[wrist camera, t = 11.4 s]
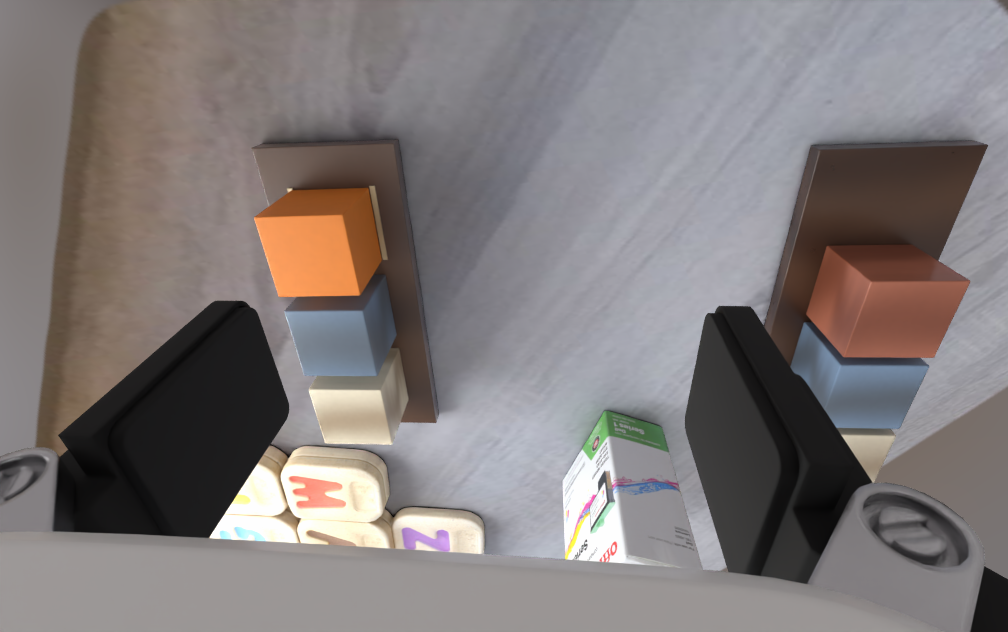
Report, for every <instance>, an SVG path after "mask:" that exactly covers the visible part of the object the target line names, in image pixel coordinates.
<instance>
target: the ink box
mask: <svg viewBox="0 0 1008 632" xmlns="http://www.w3.org/2000/svg"><path fill="white" fill-rule="evenodd" d="M563 506H564V535H565V559H568V560H583V561H599V562H614V563H626V564H639V565H651V566H664V567H676V568H688V569H701V570H703V568H702V565H701V561H700V558H699V554H698V551H697V547H696V544H695V541H694V537H693V534H692V530H691V527H690V523H689V520H688V516H687V513H686V509H685V506H684V502H683V499H682V495H681V492H680V489H679V485H678V481H677V478H676V474H675V471H674V467H673V464H672V460H671V457H670V454H669V450H668V447H667V443H666V439H665V435H664V432H663V429H662V428H661V427H660V426H657V425H654V424H651V423H647V422H644V421H641V420H637V419H634V418H631V417H628V416H624V415H621V414H617V413H613V412H610V411H604V412H603V414H602V416H601V418H600V419H599V421H598V423H597V425H596V426H595V428H594V430H593V431H592V433H591V435H590V436H589V438H588V440H587V441H586V443H585V445H584V446H583V448H582V450H581V451H580V453H579V455H578V456H577V458H576V460H575V461H574V463H573V465H572V466H571V468H570V470H569V471H568V473H567V475H566V476H565V478H564V480H563Z"/></svg>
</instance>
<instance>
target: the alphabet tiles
mask: <svg viewBox="0 0 1008 632" xmlns="http://www.w3.org/2000/svg"><path fill="white" fill-rule="evenodd" d="M389 495H390V488H389V481H388V473H387V466H386V465H385V463H384V462H383V460H382V459H381V458H379V457H378V456H377V455H375V454H373V453H371V452H368V451H364V450H357V449H343V448H330V447H314V446H303V447H300V448H298V449H296V450H294V451H293V452H292V454H291V456H290V457H289V458H288V457H287V456H286V455H285V454H284V453H283V452H282V451H280V450H279V449H277V448H275V447H273V446H270V445H269V447H268V449H267V450H266V452H265V453H264V455H263V456H262V458H261V459H260V461H259V462H258V464H257V465H256V467H255V468H254V470H253V472H252V473H251V475H250V476H249V478H248V479H247V481H246V482H245V484H244V485H243V487H242V488H241V490H240V492H239V493H238V495H237V496H236V498H235V499H234V501H233V502H232V504H231V505H230V507H229V508H228V510H227V511H226V513H225V515H224V516H223V518H222V519H221V521H220V522H219V524H218V525H217V527H216V528H215V530H214V531H213V533H212V534H211V536H210V538H216V539H234V540H253V541H272V542H290V543H307V544H324V545H342V546H359V547H376V548H393V549H409V550H426V551H443V552H459V553H475V554H484V547H485V529H484V523H483V521H482V520H481V518H480V517H478V516H477V515H475V514H473V513H471V512H468V511H463V510H452V509H434V508H419V507H409V508H404V509H402V510H400V511H399V512H398V513H397V514H396V515H395V517H392V515H391V514H390V513H389V512H388V511H387V510H386V509H384V508H385V505H386V503H387V500H388V498H389Z"/></svg>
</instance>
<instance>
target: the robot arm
mask: <svg viewBox="0 0 1008 632" xmlns="http://www.w3.org/2000/svg"><path fill="white" fill-rule="evenodd" d="M288 414H289V403H288V400H287V397H286V394H285V391H284V388H283V385H282V382H281V379H280V377H279V374H278V371H277V368H276V365H275V362H274V359H273V356H272V353H271V351H270V348H269V345H268V342H267V339H266V336H265V333H264V330H263V328H262V325H261V322H260V319H259V316H258V314H257V312H256V310H255V309H253V308H250V306H249V305H248V304H247V303H246V302H244V301H214V302H213V303H211V304H210V305H209V306H208V307H206V308H205V309H204V310H203V311H202V312H201V313H199V314H198V315H197V316H196V317H195V318H194V319H192V320H191V321H190V322H189V323H188V324H187V325H185V326H184V327H183V328H182V329H181V330H180V331H179V332H177V333H176V334H175V335H174V336H173V337H172V338H170V339H169V340H168V341H167V342H166V343H165V344H163V345H162V346H161V347H160V348H159V349H158V350H156V351H155V352H154V353H153V354H152V355H151V356H150V357H148V358H147V359H146V360H145V361H144V362H143V363H141V364H140V365H139V366H138V367H137V368H136V369H134V370H133V371H132V372H131V373H130V374H129V375H128V376H126V377H125V378H124V379H123V380H122V381H121V382H119V383H118V384H117V385H116V386H115V387H114V388H112V389H111V390H110V391H109V392H108V393H107V394H105V395H104V396H103V397H102V398H101V399H100V400H99V401H97V402H96V403H95V404H94V405H93V406H92V407H90V408H89V409H88V410H87V411H86V412H85V413H83V414H82V415H81V416H80V417H79V418H78V419H76V420H75V421H74V422H73V423H72V424H71V425H70V426H68V427H67V428H66V429H65V430H64V431H63V432H61V433H60V434H59V435H58V436H59V437H60V438H61V440H62V441H63V443H64V444H65V446H66V447H67V449H68V450H67V451H66V452H65V453H64V454H63V455H62V456H61V457H59V456H58V454H57V453H56V452H54V451H53V450H51V449H50V448H42V447H35V448H27V449H22V450H18V451H15V452H11V453H8V454H5V455H3V456H1V457H0V632H1008V579H1006V578H1004V577H1003V576H1001V575H999V574H997V573H995V572H994V571H992V570H990V569H988V568H986V567H985V566H984V565H985V555H984V548H983V546H982V544H981V542H980V540H979V538H978V536H977V534H976V533H975V532H974V530H973V529H972V528H971V527H970V526H969V525H968V524H967V523H966V521H965V520H964V519H963V518H962V517H961V516H959V515H958V514H957V513H955V512H954V511H953V510H952V509H950V508H949V507H948V506H946V505H945V504H943V503H941V502H940V501H938V500H936V499H934V498H932V497H931V496H929V495H927V494H925V493H922V492H919V491H917V490H914V489H912V488H909V487H906V486H902V485H897V484H891V483H873V482H872V481H871V479H870V478H869V476H868V474H867V473H866V471H865V470H864V468H863V467H862V465H861V464H860V462H859V461H858V459H857V458H856V456H855V455H854V453H853V452H852V450H851V449H850V447H849V446H848V444H847V443H846V441H845V440H844V438H843V437H842V435H841V434H840V432H839V431H838V429H837V428H836V426H835V425H834V423H833V422H832V420H831V419H830V417H829V416H828V414H827V413H826V411H825V410H824V408H823V407H822V405H821V404H820V402H819V401H818V399H817V398H816V396H815V395H814V393H813V392H812V390H811V389H810V387H809V386H808V384H807V383H806V381H805V380H804V379H803V378H802V377H801V376H800V375H798V374H795V373H794V372H793V371H792V369H791V367H790V366H789V364H788V363H787V361H786V360H785V358H784V357H783V355H782V354H781V352H780V351H779V349H778V347H777V346H776V344H775V343H774V341H773V340H772V338H771V337H770V335H769V334H768V332H767V330H766V329H765V327H764V326H763V324H762V323H761V321H760V320H759V318H758V317H757V315H756V313H755V312H754V310H753V309H752V308H751V307H748V306H719V307H718V308H717V309H716V311H715V313H708V314H707V315H706V317H705V321H704V325H703V330H702V335H701V340H700V345H699V350H698V355H697V360H696V365H695V370H694V375H693V380H692V385H691V390H690V395H689V400H688V405H687V410H686V415H685V428H686V434H687V437H688V440H689V444H690V447H691V450H692V454H693V457H694V460H695V463H696V467H697V470H698V473H699V477H700V480H701V483H702V486H703V490H704V493H705V496H706V500H707V503H708V506H709V509H710V513H711V516H712V519H713V523H714V526H715V529H716V532H717V536H718V539H719V542H720V546H721V549H722V552H723V555H724V559H725V562H726V565H727V568H728V572H723V571H713V570H701V569H688V568H676V567H664V566H651V565H639V564H626V563H614V562H599V561H583V560H568V559H552V558H537V557H521V556H506V555H490V554H475V553H459V552H443V551H426V550H409V549H393V548H376V547H359V546H342V545H324V544H307V543H290V542H272V541H253V540H234V539H216V538H210V536H211V534H212V533H213V531H214V530H215V528H216V527H217V525H218V524H219V522H220V521H221V519H222V518H223V516H224V515H225V513H226V511H227V510H228V508H229V507H230V505H231V504H232V502H233V501H234V499H235V498H236V496H237V495H238V493H239V492H240V490H241V488H242V487H243V485H244V484H245V482H246V481H247V479H248V478H249V476H250V475H251V473H252V472H253V470H254V468H255V467H256V465H257V464H258V462H259V461H260V459H261V458H262V456H263V455H264V453H265V452H266V450H267V449H268V447H269V445H270V444H271V442H272V441H273V439H274V438H275V436H276V435H277V433H278V432H279V430H280V429H281V427H282V426H283V424H284V422H285V421H286V419H287V417H288Z"/></svg>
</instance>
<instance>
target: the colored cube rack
mask: <svg viewBox="0 0 1008 632" xmlns="http://www.w3.org/2000/svg"><path fill="white" fill-rule="evenodd" d="M987 147H988V145H987V144H984V143H980V142H977V141H947V142H914V143H881V144H848V145H815V146H811V148H810V152H809V156H808V160H807V163H806V167H805V171H804V175H803V179H802V183H801V187H800V191H799V194H798V198H797V202H796V206H795V210H794V214H793V218H792V221H791V225H790V229H789V233H788V237H787V241H786V245H785V248H784V252H783V256H782V260H781V264H780V268H779V272H778V276H777V279H776V283H775V287H774V291H773V295H772V299H771V303H770V306H769V310H768V314H767V318H766V322H765V326H764V327H765V329H766V330H767V332H768V334H769V335H770V337H771V338H772V340H773V341H774V343H775V344H776V346H777V347H778V349H779V351H780V352H781V354H782V355H783V357H784V358H785V360H786V361H787V363H788V364H789V366H790V367H791V369H792V371H793V372H794V373H795V374H798V375H800V376H801V377H802V378H803V379H804V380H805V381H806V383H807V384H808V386H809V387H810V389H811V390H812V392H813V393H814V395H815V396H816V398H817V399H818V401H819V402H820V404H821V405H822V407H823V408H824V410H825V411H826V413H827V414H828V416H829V417H830V419H831V420H832V422H833V423H834V425H835V426H836V428H837V429H838V431H839V432H840V434H841V435H842V437H843V438H844V440H845V441H846V443H847V444H848V446H849V447H850V449H851V450H852V452H853V453H854V455H855V456H856V458H857V459H858V461H859V462H860V464H861V465H862V467H863V468H864V470H865V471H866V473H867V474H868V476H869V478H870V479H871V481H872V482H873V483H874V481H875V479H876V477H877V475H878V473H879V470H880V469H881V467H882V464H883V462H884V460H885V458H886V456H887V454H888V452H889V450H890V448H891V446H892V444H893V442H894V440H895V437H896V435H895V434H894V433H893V432H892V430H891V429H899V428H900V426H901V424H902V422H903V420H904V418H905V416H906V414H907V412H908V410H909V408H910V406H911V404H912V401H913V399H914V397H915V395H916V393H917V391H918V389H919V387H920V385H921V383H922V381H923V379H924V376H925V374H926V372H927V370H928V368H929V365H928V364H927V363H926V362H925V361H923V360H922V359H921V358H933V357H934V356H935V354H936V352H937V350H938V348H939V346H940V344H941V342H942V340H943V338H944V336H945V333H946V331H947V329H948V327H949V325H950V323H951V321H952V319H953V317H954V315H955V313H956V311H957V308H958V306H959V304H960V302H961V300H962V298H963V296H964V294H965V292H966V290H967V288H968V286H969V284H970V280H968V279H967V278H965V277H963V276H962V275H960V274H958V273H957V272H955V271H954V270H952V269H950V268H949V267H947V266H946V265H944V264H942V263H941V262H939V261H938V260H939V258H940V255H941V253H942V251H943V248H944V246H945V244H946V241H947V239H948V237H949V234H950V232H951V230H952V228H953V225H954V223H955V221H956V218H957V216H958V214H959V211H960V209H961V207H962V204H963V202H964V200H965V198H966V195H967V193H968V191H969V188H970V186H971V184H972V181H973V179H974V177H975V174H976V172H977V170H978V168H979V165H980V163H981V161H982V158H983V156H984V154H985V151H986V149H987Z"/></svg>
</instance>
